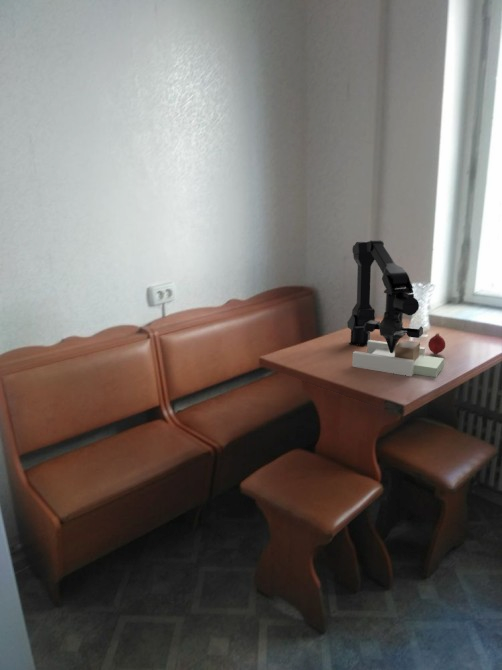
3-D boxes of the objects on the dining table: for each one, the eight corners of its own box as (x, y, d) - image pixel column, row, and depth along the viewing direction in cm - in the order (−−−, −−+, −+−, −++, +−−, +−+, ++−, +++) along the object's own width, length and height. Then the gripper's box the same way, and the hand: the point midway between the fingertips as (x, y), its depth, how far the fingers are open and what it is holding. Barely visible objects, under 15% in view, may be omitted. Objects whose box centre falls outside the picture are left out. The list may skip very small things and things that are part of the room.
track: (352, 366, 171) (352, 352, 170) (368, 352, 185) (369, 339, 184) (411, 376, 161) (412, 361, 160) (424, 361, 175) (425, 347, 173)
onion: (445, 357, 178) (447, 335, 176) (428, 356, 179) (430, 335, 177) (443, 352, 184) (444, 331, 182) (426, 351, 185) (428, 330, 183)
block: (394, 360, 167) (395, 346, 166) (401, 353, 174) (402, 340, 172) (412, 363, 164) (413, 348, 163) (418, 356, 171) (419, 342, 169)
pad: (413, 373, 163) (414, 364, 163) (421, 363, 172) (422, 355, 172) (435, 377, 160) (436, 368, 159) (443, 366, 169) (443, 358, 168)
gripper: (359, 310, 165) (357, 355, 170) (416, 316, 156) (412, 364, 160) (370, 304, 174) (368, 346, 179) (425, 309, 165) (421, 354, 169)
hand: (391, 352), depth 171 cm, fingers closed
